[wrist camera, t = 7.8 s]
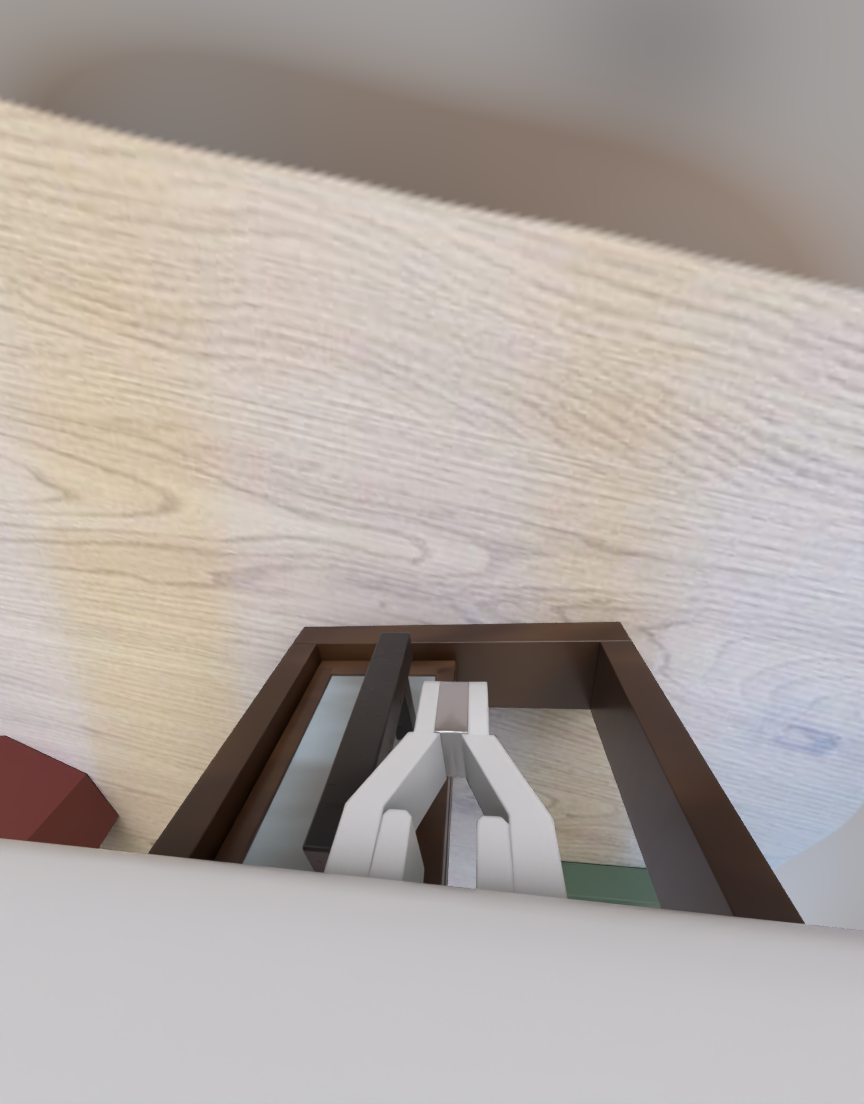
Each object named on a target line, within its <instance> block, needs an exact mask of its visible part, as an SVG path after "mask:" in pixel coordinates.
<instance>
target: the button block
mask: <svg viewBox="0 0 864 1104" xmlns="http://www.w3.org/2000/svg"><path fill="white" fill-rule="evenodd" d="M561 865H562V871H563V876H564V882H565V887H566V893H567V899H575V900H584V901H593V902H603V903H612V904H621V905H631V906H640V907H649V908H659V909H661V906H660V904H659V901H658V898H657V895H656V892H655V890H654V887H653V884H652V881H651V878H650V876H649V873H648V870H647V869H642V868H630V867H618V866H606V865H594V864H582V863H570V862H561Z"/></svg>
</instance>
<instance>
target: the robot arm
mask: <svg viewBox="0 0 864 1104" xmlns="http://www.w3.org/2000/svg"><path fill="white" fill-rule="evenodd" d="M446 777H465V778H466V779H467V781H468V783H469V786H470V788H471V790H472V792H473V794H474V796H475V798H476V800H477V802H478V804H479V806H480V808H481V810H482V812H483V814H484V816H482V817H481V818H480V819H479V820H478V821H477V867H476V889H472V888H463V887H453V886H444V885H435V884H425V883H423V879H424V865H423V861H422V857H421V853H420V849H419V845H418V841H417V837H416V833H415V831H416V829H417V827H418V826H419V824H420V822H421V821H422V819H423V817H424V816H425V814H426V812H427V811H428V809H429V807H430V806H431V804H432V802H433V801H434V799H435V797H436V796H437V794H438V792H439V791H440V789H441V787H442V786H443V784H444V782H445V781H446V779H447V778H446ZM0 1104H864V930H854V929H845V928H835V927H827V926H817V925H807V924H799V923H789V922H780V921H771V920H761V919H752V918H743V917H733V916H724V915H715V914H705V913H696V912H687V911H677V910H668V909H659V908H649V907H640V906H631V905H621V904H612V903H603V902H593V901H584V900H575V899H567V893H566V887H565V882H564V876H563V871H562V865H561V859H560V854H559V848H558V842H557V837H556V831H555V825H554V820H553V818H552V816H551V815H550V814H549V812H548V811H547V809H546V808H545V806H544V805H543V804H542V802H541V801H540V799H539V798H538V796H537V795H536V794H535V792H534V791H533V789H532V788H531V786H530V785H529V783H528V782H527V781H526V779H525V778H524V776H523V775H522V773H521V772H520V771H519V769H518V768H517V766H516V765H515V763H514V762H513V761H512V759H511V758H510V756H509V755H508V753H507V752H506V750H505V749H504V748H503V746H502V745H501V743H500V742H499V740H498V739H497V738H496V736H495V735H490V728H489V708H488V688H487V682H469V681H424V682H423V684H422V688H421V694H420V699H419V705H418V710H417V716H416V722H415V727H414V732H408V733H407V734H406V735H405V736H404V738H403V739H402V740H401V741H400V742H399V743H398V744H397V745H396V747H395V748H394V749H393V750H392V751H391V752H390V753H389V754H388V756H387V757H386V758H385V759H384V760H383V761H382V762H381V764H380V765H379V766H378V767H377V768H376V769H375V770H374V771H373V773H372V774H371V775H370V776H369V777H368V778H367V779H366V780H365V782H364V783H363V784H362V785H361V786H360V787H359V788H358V789H357V791H356V792H355V793H354V794H353V795H352V796H351V797H350V799H349V800H348V801H347V802H346V803H345V806H344V809H343V812H342V815H341V819H340V822H339V825H338V828H337V831H336V835H335V838H334V841H333V844H332V847H331V851H330V854H329V857H328V860H327V863H326V867H325V870H324V873H322V872H313V871H304V870H294V869H285V868H275V867H266V866H257V865H247V864H238V863H229V862H219V861H210V860H200V859H191V858H182V857H172V856H163V855H153V854H144V853H135V852H125V851H116V850H106V849H97V848H88V847H78V846H69V845H59V844H50V843H40V842H31V841H21V840H12V839H2V838H0Z"/></svg>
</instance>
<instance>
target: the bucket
mask: <svg viewBox="0 0 864 1104" xmlns="http://www.w3.org/2000/svg"><path fill="white" fill-rule="evenodd" d="M117 818H118V814H117V813H116V812H115V811H114V809H113V808H112V807H111V805H110V804H109V803H108V801H107V800H106V799H105V798H104V796H103V795H102V794H101V792H100V791H99V790H98V788H97V787H96V786H95V785H94V783H93V782H92V781H91V779H90V778H89V777H88V775H87V774H85V773H83V772H81V771H79V770H77V769H75V768H73V767H70V766H68V765H66V764H64V763H62V762H60V761H58V760H55V759H53V758H51V757H49V756H47V755H45V754H43V753H40V752H38V751H36V750H34V749H32V748H30V747H28V746H26V745H23V744H21V743H19V742H17V741H15V740H13V739H11V738H8V737H6V736H0V838H2V839H12V840H21V841H31V842H40V843H50V844H59V845H69V846H78V847H88V848H97V849H99V847H100V845H101V844H102V842H103V841H104V839H105V837H106V836H107V834H108V832H109V831H110V829H111V827H112V826H113V824H114V823H115V821H116V819H117Z"/></svg>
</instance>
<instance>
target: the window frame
mask: <svg viewBox="0 0 864 1104" xmlns="http://www.w3.org/2000/svg"><path fill="white" fill-rule="evenodd" d="M386 632H409V634H410V639H411V644H412V650H413V658H412V661H456V669H457V671H456V681H469V682H487V688H488V707H502V708H553V709H590V710H591V713H592V716H593V719H594V722H595V724H596V727H597V730H598V733H599V736H600V738H601V741H602V744H603V747H604V750H605V752H606V755H607V758H608V761H609V764H610V766H611V769H612V772H613V775H614V778H615V780H616V783H617V786H618V789H619V792H620V794H621V797H622V800H623V803H624V806H625V808H626V811H627V814H628V817H629V820H630V822H631V825H632V828H633V831H634V834H635V836H636V839H637V842H638V845H639V848H640V850H641V853H642V856H643V859H644V862H645V864H646V867H647V870H648V873H649V876H650V878H651V881H652V884H653V887H654V890H655V892H656V895H657V898H658V901H659V904H660V906H661V909H668V910H677V911H687V912H696V913H705V914H715V915H724V916H733V917H743V918H752V919H761V920H771V921H780V922H789V923H799V924H805V923H804V921H803V920H802V918H801V916H800V915H799V913H798V911H797V910H796V908H795V906H794V905H793V903H792V902H791V900H790V898H789V897H788V895H787V894H786V892H785V890H784V889H783V887H782V885H781V884H780V882H779V880H778V879H777V877H776V875H775V874H774V872H773V871H772V869H771V867H770V866H769V864H768V862H767V861H766V859H765V858H764V856H763V854H762V853H761V851H760V849H759V848H758V846H757V844H756V843H755V841H754V840H753V838H752V836H751V835H750V833H749V831H748V830H747V828H746V826H745V825H744V823H743V822H742V820H741V818H740V817H739V815H738V813H737V812H736V810H735V809H734V807H733V805H732V804H731V802H730V800H729V799H728V797H727V795H726V794H725V792H724V791H723V789H722V787H721V786H720V784H719V782H718V781H717V779H716V778H715V776H714V774H713V773H712V771H711V769H710V768H709V766H708V764H707V763H706V761H705V760H704V758H703V756H702V755H701V753H700V751H699V750H698V748H697V746H696V745H695V743H694V742H693V740H692V738H691V737H690V735H689V733H688V732H687V730H686V729H685V727H684V725H683V724H682V722H681V720H680V719H679V717H678V715H677V714H676V712H675V711H674V709H673V707H672V706H671V704H670V702H669V701H668V699H667V698H666V696H665V694H664V693H663V691H662V689H661V688H660V686H659V684H658V683H657V681H656V680H655V678H654V676H653V675H652V673H651V671H650V670H649V668H648V667H647V665H646V663H645V662H644V660H643V658H642V657H641V655H640V653H639V652H638V650H637V649H636V647H635V645H634V644H633V642H632V641H631V639H630V637H629V636H628V634H627V633H626V631H625V629H624V628H623V626H622V624H621V623H620V622H592V623H531V624H469V625H408V626H346V627H304V628H303V630H302V631H301V633H300V634H299V635H298V637H297V638H296V640H295V641H294V643H293V644H292V645H291V647H290V648H289V650H288V651H287V653H286V654H285V655H284V657H283V658H282V660H281V661H280V663H279V664H278V666H277V667H276V669H275V670H274V671H273V673H272V674H271V676H270V677H269V679H268V680H267V682H266V683H265V684H264V686H263V687H262V689H261V690H260V692H259V693H258V695H257V696H256V698H255V699H254V700H253V702H252V703H251V705H250V706H249V708H248V709H247V711H246V712H245V714H244V715H243V716H242V718H241V719H240V721H239V722H238V724H237V725H236V727H235V728H234V729H233V731H232V732H231V734H230V735H229V737H228V738H227V740H226V741H225V743H224V744H223V745H222V747H221V748H220V750H219V751H218V753H217V754H216V756H215V757H214V759H213V760H212V761H211V763H210V764H209V766H208V767H207V769H206V770H205V772H204V773H203V774H202V776H201V777H200V779H199V780H198V782H197V783H196V785H195V786H194V788H193V789H192V790H191V792H190V793H189V795H188V796H187V798H186V799H185V801H184V802H183V803H182V805H181V806H180V808H179V809H178V811H177V812H176V814H175V815H174V817H173V818H172V819H171V821H170V822H169V824H168V825H167V827H166V828H165V830H164V831H163V833H162V834H161V835H160V837H159V838H158V840H157V841H156V843H155V844H154V846H153V847H152V848H151V850H150V851H149V853H148V854H153V855H163V856H172V857H182V858H191V859H200V860H210V861H214V859H215V858H216V856H217V854H218V852H219V850H220V848H221V846H222V845H223V843H224V841H225V839H226V837H227V835H228V834H229V832H230V830H231V828H232V826H233V824H234V822H235V821H236V819H237V817H238V815H239V813H240V811H241V809H242V808H243V806H244V804H245V802H246V800H247V798H248V797H249V795H250V793H251V791H252V789H253V787H254V785H255V784H256V782H257V780H258V778H259V776H260V774H261V773H262V771H263V769H264V767H265V765H266V763H267V761H268V760H269V758H270V756H271V754H272V752H273V750H274V749H275V747H276V745H277V743H278V741H279V739H280V737H281V736H282V734H283V732H284V730H285V728H286V726H287V725H288V723H289V721H290V719H291V717H292V715H293V713H294V712H295V710H296V708H297V706H298V704H299V702H300V701H301V699H302V697H303V695H304V693H305V691H306V689H307V688H308V686H309V684H310V682H311V680H312V678H313V677H314V675H315V672H316V671H317V669H318V667H319V665H320V663H321V661H371V658H372V655H373V653H374V650H375V647H376V645H377V642H378V639H379V636H380V634H381V633H386ZM452 788H453V777H450V791H449V809H448V826H447V844H446V861H445V878H444V886H448V867H449V847H450V828H451V808H452Z"/></svg>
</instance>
